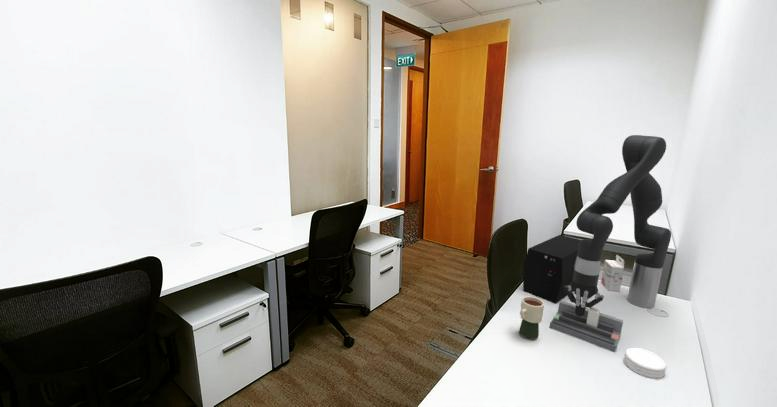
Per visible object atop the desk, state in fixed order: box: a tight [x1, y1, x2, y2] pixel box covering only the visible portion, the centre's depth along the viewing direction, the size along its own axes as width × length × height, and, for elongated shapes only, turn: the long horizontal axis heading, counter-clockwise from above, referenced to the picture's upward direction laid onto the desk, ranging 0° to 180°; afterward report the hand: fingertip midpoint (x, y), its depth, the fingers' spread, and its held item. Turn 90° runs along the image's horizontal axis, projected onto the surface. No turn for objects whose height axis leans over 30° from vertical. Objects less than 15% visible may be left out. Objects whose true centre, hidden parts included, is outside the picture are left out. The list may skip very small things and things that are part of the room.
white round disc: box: [623, 347, 667, 379], centre depth 102 cm, size 10×10×4 cm
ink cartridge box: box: [600, 254, 625, 292], centre depth 152 cm, size 9×5×15 cm, turn 168°
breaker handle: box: [586, 306, 601, 328], centre depth 117 cm, size 3×3×7 cm
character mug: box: [518, 295, 545, 340], centre depth 115 cm, size 11×7×13 cm, turn 123°
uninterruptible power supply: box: [522, 234, 582, 305], centre depth 151 cm, size 16×34×20 cm, turn 131°
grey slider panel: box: [549, 300, 624, 353], centre depth 118 cm, size 12×20×6 cm, turn 49°
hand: (579, 315), depth 120 cm, fingers closed
